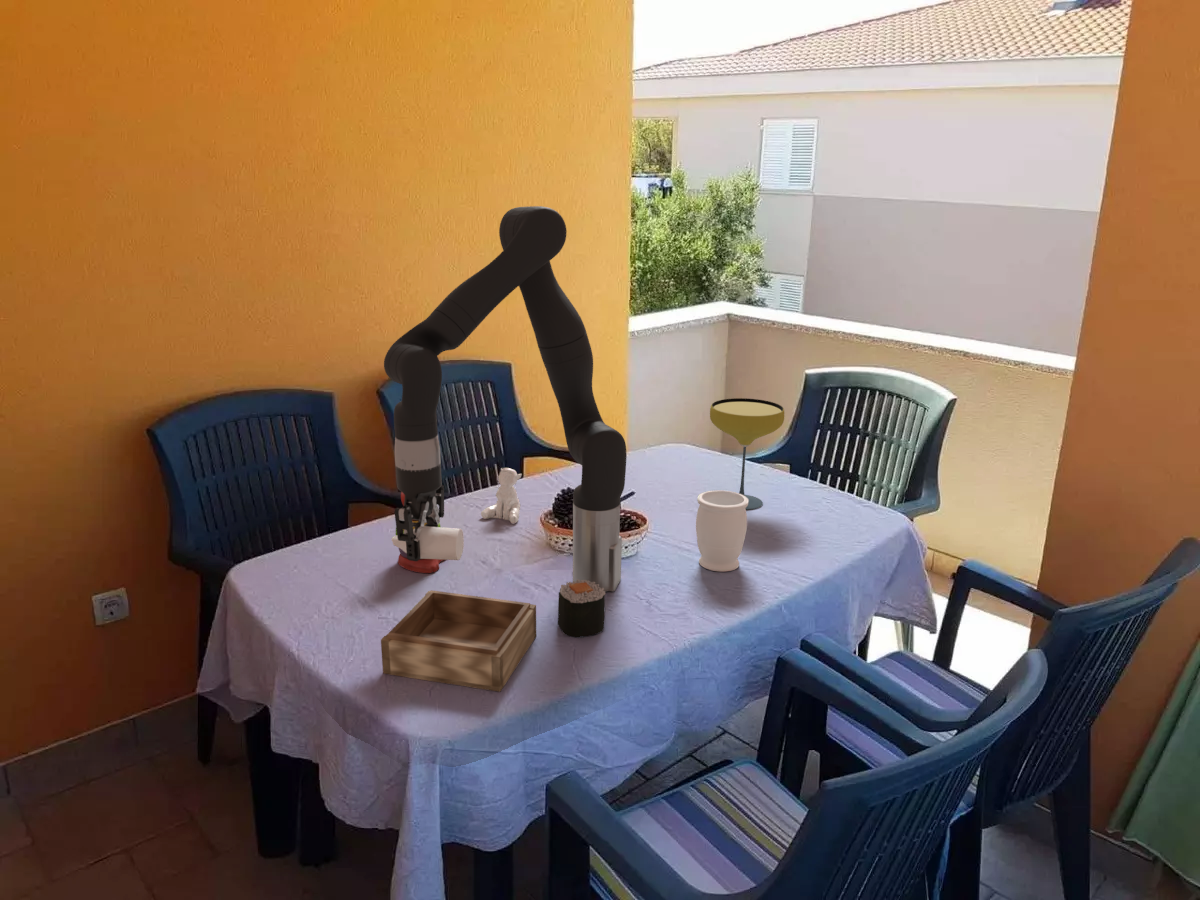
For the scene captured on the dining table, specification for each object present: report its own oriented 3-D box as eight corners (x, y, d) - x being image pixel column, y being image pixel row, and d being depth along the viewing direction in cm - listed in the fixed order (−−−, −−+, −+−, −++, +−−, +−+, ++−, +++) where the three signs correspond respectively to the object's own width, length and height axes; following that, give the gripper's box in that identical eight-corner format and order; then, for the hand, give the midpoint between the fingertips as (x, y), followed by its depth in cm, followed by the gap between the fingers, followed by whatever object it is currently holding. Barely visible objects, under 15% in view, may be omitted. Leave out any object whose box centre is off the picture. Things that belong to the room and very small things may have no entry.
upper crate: (530, 633, 157) (530, 603, 155) (497, 684, 141) (496, 650, 139) (432, 620, 161) (430, 590, 159) (389, 667, 146) (387, 634, 144)
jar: (749, 559, 191) (754, 494, 186) (736, 578, 182) (740, 510, 177) (702, 550, 195) (706, 486, 190) (687, 568, 186) (690, 501, 181)
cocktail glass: (726, 485, 236) (731, 394, 229) (789, 500, 226) (797, 405, 219) (692, 504, 222) (696, 408, 215) (757, 521, 212) (764, 420, 205)
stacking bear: (434, 574, 181) (430, 493, 176) (388, 569, 183) (383, 488, 178) (453, 553, 191) (450, 475, 186) (409, 549, 193) (405, 472, 188)
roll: (398, 549, 158) (396, 519, 156) (464, 551, 157) (463, 522, 156) (387, 563, 152) (385, 532, 151) (456, 565, 151) (455, 535, 150)
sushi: (569, 641, 156) (569, 600, 154) (552, 620, 164) (552, 580, 161) (611, 632, 159) (612, 592, 157) (593, 612, 167) (593, 573, 164)
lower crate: (536, 636, 158) (536, 604, 156) (500, 691, 141) (499, 657, 139) (430, 621, 162) (428, 590, 160) (382, 673, 145) (380, 639, 143)
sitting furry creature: (479, 518, 211) (478, 471, 207) (496, 507, 219) (495, 460, 215) (515, 524, 208) (514, 476, 204) (531, 512, 216) (530, 465, 212)
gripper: (418, 476, 142) (424, 571, 147) (456, 451, 155) (460, 539, 160) (376, 472, 144) (383, 566, 149) (417, 447, 157) (422, 534, 162)
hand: (423, 551), depth 155 cm, fingers closed on roll, 6 cm apart
